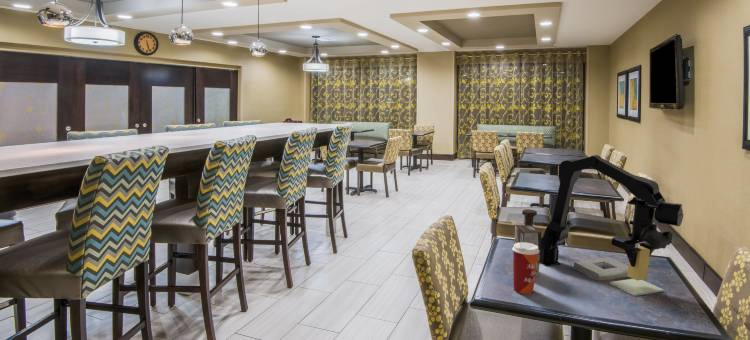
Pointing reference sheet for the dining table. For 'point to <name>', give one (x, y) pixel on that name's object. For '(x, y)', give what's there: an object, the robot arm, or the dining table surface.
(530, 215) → the bolt
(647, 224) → the robot arm
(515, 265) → the coffee cup
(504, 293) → the dining table surface
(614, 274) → the square hole plate
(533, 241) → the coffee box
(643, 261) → the peg
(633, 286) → the pad
